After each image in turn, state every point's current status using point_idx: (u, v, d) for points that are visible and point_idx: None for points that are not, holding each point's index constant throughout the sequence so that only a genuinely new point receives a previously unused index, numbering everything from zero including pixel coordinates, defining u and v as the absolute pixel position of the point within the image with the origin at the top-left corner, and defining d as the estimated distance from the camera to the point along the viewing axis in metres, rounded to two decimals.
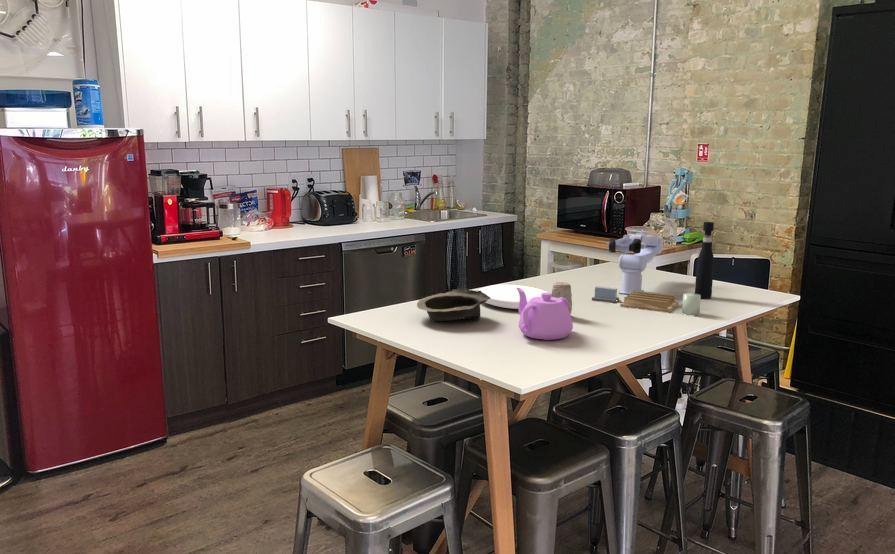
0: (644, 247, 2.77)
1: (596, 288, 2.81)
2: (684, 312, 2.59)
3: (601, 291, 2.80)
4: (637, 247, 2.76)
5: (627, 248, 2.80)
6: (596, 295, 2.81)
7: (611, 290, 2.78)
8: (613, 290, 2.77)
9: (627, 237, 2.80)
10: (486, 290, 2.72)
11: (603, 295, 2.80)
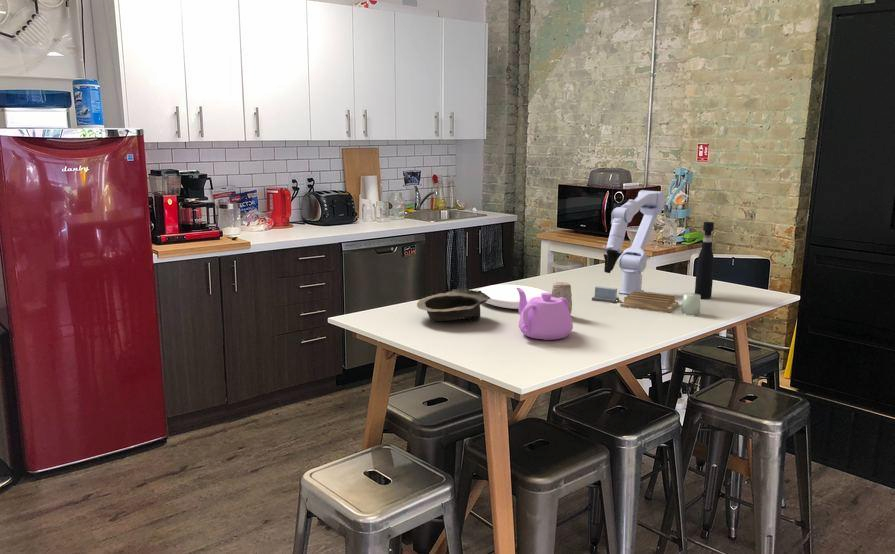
0: (617, 248, 2.70)
1: (596, 288, 2.81)
2: (684, 312, 2.59)
3: (601, 291, 2.80)
4: (615, 253, 2.72)
5: None
6: (596, 295, 2.81)
7: (611, 290, 2.78)
8: (613, 290, 2.77)
9: (605, 247, 2.78)
10: (486, 290, 2.72)
11: (603, 295, 2.80)
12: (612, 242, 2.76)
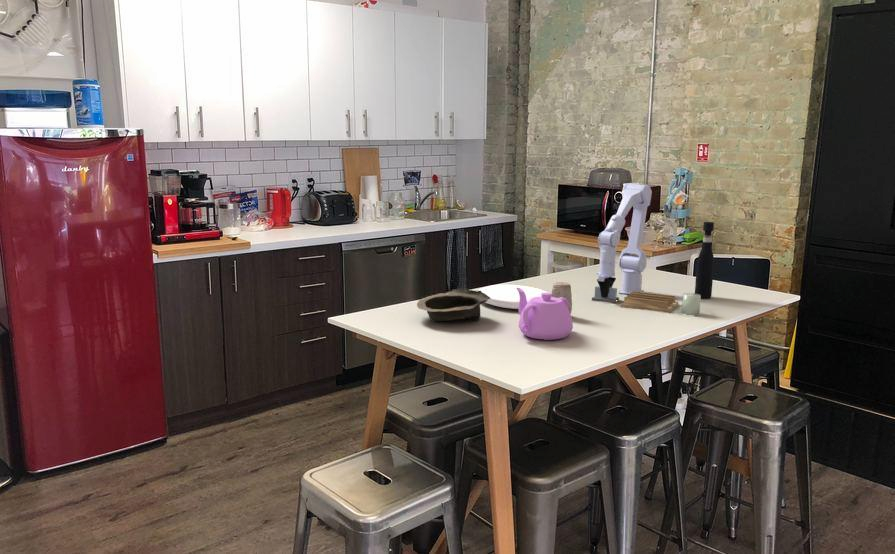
0: (602, 279, 2.72)
1: (596, 288, 2.81)
2: (684, 312, 2.59)
3: None
4: (605, 281, 2.77)
5: None
6: (596, 295, 2.81)
7: (611, 290, 2.78)
8: (613, 290, 2.77)
9: None
10: (486, 290, 2.72)
11: None
12: (601, 270, 2.77)
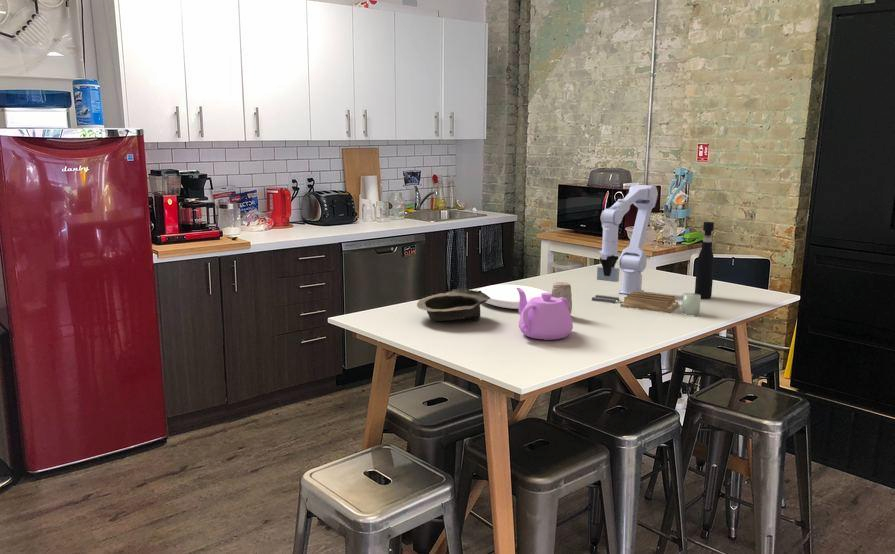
0: (605, 257, 2.71)
1: (598, 268, 2.79)
2: (684, 312, 2.59)
3: None
4: (608, 260, 2.75)
5: None
6: (598, 275, 2.79)
7: (613, 270, 2.76)
8: (615, 270, 2.76)
9: None
10: (486, 290, 2.72)
11: None
12: (604, 248, 2.75)
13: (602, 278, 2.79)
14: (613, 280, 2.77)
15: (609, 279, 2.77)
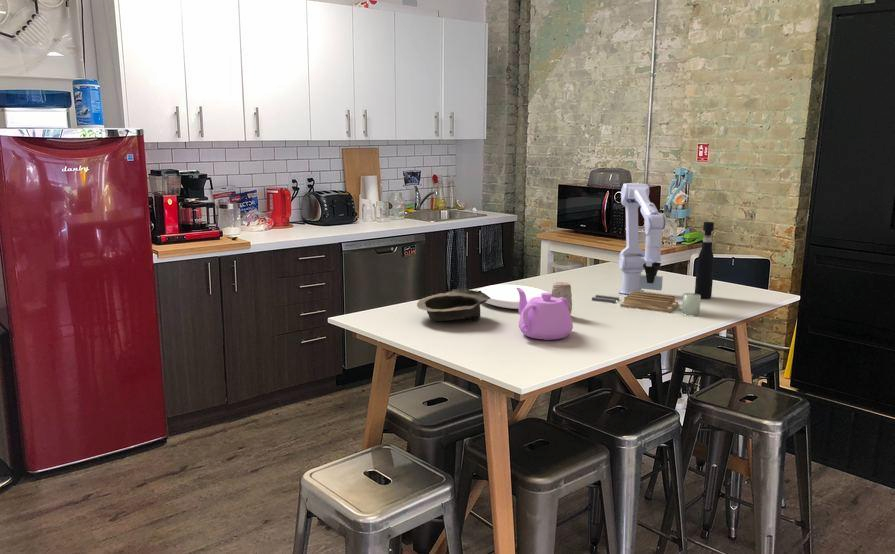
0: (650, 264, 2.63)
1: (641, 276, 2.71)
2: (684, 312, 2.59)
3: (646, 279, 2.70)
4: (652, 266, 2.67)
5: None
6: (641, 283, 2.71)
7: (657, 278, 2.68)
8: (659, 278, 2.68)
9: None
10: (486, 290, 2.72)
11: (648, 283, 2.70)
12: (648, 254, 2.67)
13: (645, 287, 2.71)
14: (657, 289, 2.69)
15: (652, 288, 2.70)
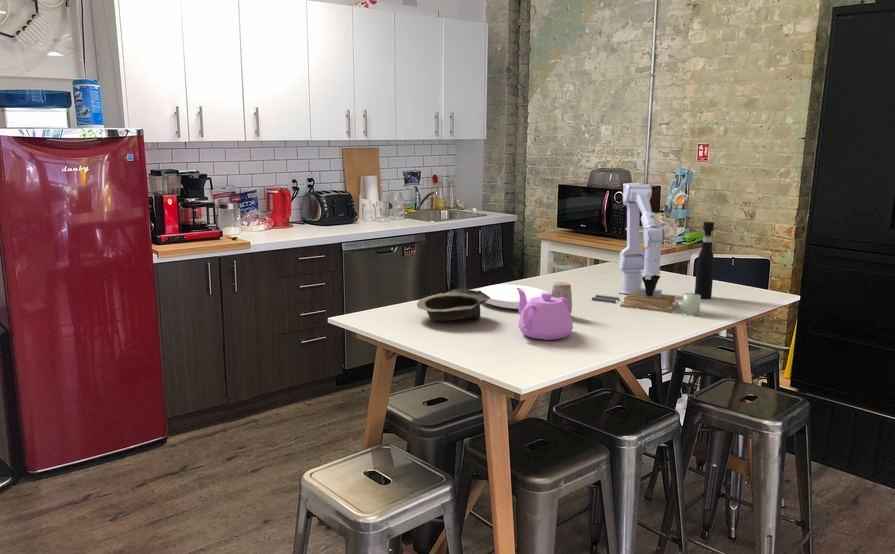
0: (649, 277, 2.64)
1: (640, 290, 2.72)
2: (684, 312, 2.59)
3: (645, 293, 2.71)
4: (651, 279, 2.68)
5: None
6: None
7: (656, 292, 2.70)
8: (658, 292, 2.69)
9: None
10: (486, 290, 2.72)
11: None
12: (647, 267, 2.68)
13: None
14: None
15: None
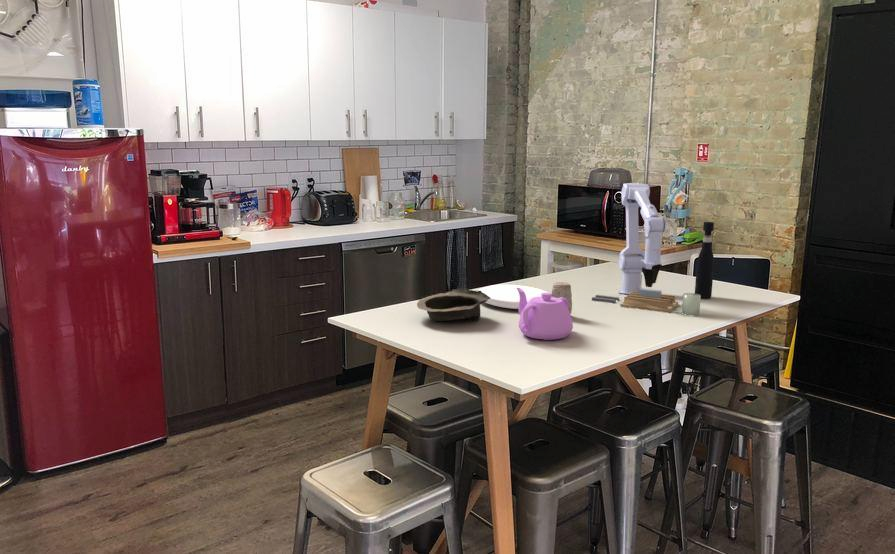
0: (650, 267, 2.63)
1: (640, 290, 2.72)
2: (684, 312, 2.59)
3: (645, 293, 2.71)
4: (650, 270, 2.65)
5: None
6: None
7: (656, 292, 2.70)
8: (658, 292, 2.69)
9: None
10: (486, 290, 2.72)
11: None
12: (648, 257, 2.67)
13: None
14: None
15: None
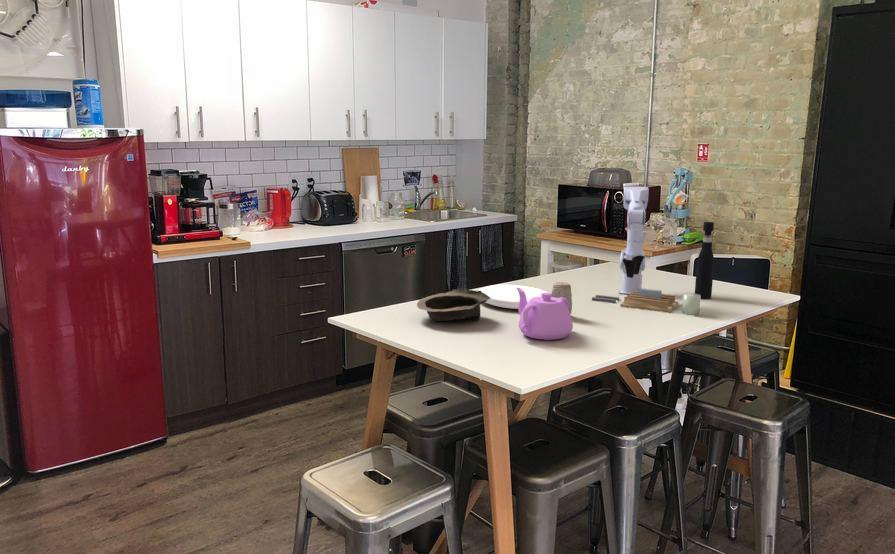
0: (630, 257, 2.70)
1: (640, 290, 2.72)
2: (684, 312, 2.59)
3: (645, 293, 2.71)
4: None
5: None
6: None
7: (656, 292, 2.70)
8: (658, 292, 2.69)
9: None
10: (486, 290, 2.72)
11: None
12: (629, 248, 2.74)
13: None
14: None
15: None
